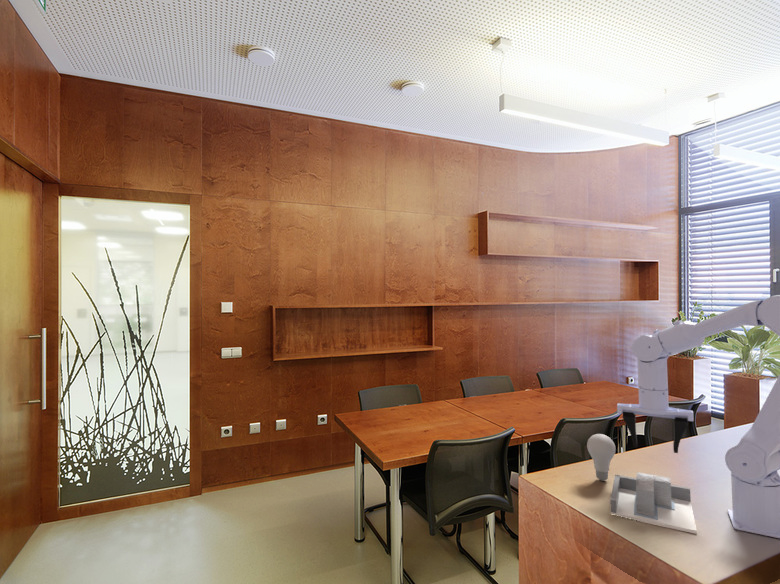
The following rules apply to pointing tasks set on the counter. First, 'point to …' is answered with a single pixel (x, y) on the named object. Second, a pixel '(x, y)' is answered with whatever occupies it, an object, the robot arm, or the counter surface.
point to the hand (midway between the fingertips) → (655, 448)
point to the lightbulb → (601, 454)
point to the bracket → (652, 493)
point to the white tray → (664, 516)
